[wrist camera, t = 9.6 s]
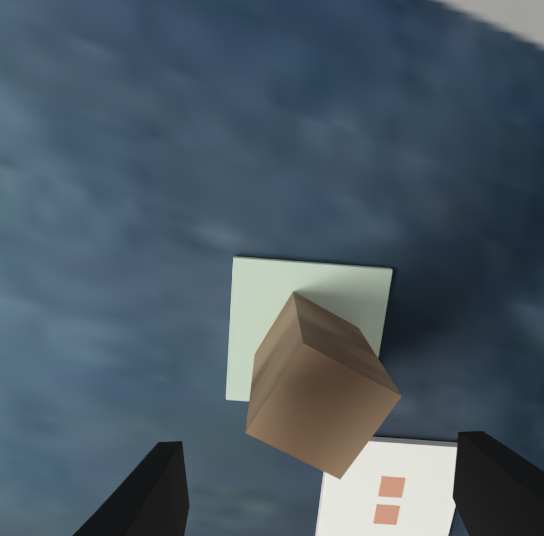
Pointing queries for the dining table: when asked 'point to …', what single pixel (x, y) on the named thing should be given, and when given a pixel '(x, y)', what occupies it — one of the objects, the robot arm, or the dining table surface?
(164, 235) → the dining table surface
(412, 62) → the dining table surface
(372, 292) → the sage mat
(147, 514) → the robot arm
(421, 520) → the white tile
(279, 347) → the walnut block
